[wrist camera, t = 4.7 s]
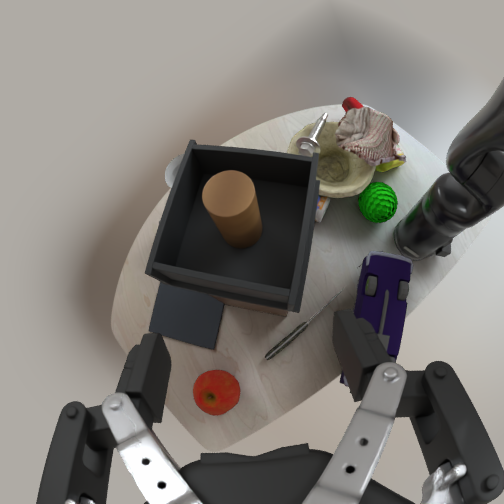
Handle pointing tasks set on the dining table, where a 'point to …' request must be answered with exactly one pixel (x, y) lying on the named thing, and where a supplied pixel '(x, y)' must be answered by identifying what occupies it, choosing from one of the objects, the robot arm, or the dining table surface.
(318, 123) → the screw
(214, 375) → the apple
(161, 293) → the mat
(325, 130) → the bowl
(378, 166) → the bottle
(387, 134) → the wadded dish towel
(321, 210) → the pill bottle
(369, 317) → the toy car
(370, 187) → the ornament
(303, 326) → the knife
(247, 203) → the brown cylinder
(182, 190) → the bin
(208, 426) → the dining table surface
